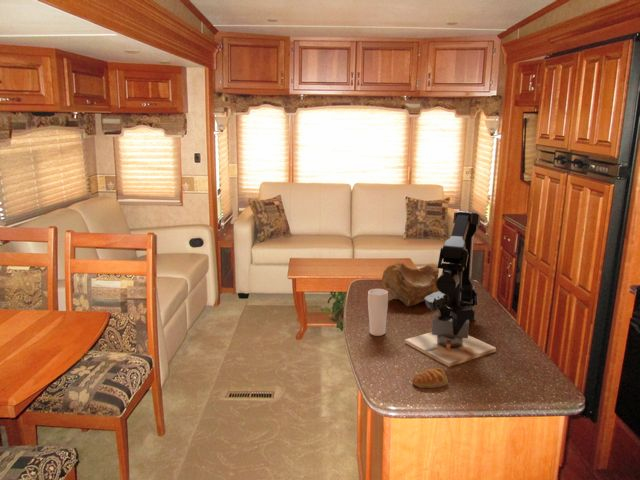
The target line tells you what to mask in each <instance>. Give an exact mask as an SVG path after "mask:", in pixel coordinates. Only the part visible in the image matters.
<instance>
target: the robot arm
mask: <svg viewBox="0 0 640 480" xmlns="http://www.w3.org/2000/svg"><path fill="white" fill-rule="evenodd" d="M452 219H453V220H452V221H453V222H452V224H453V228H452V232H451V235H450V237H449V238H448V239H446V240H445V241H444V243H443V246H442V247H440V251H439V256H438V261H437V266H438V268H439V270H441V269H442V271H441V274H440V276H438V280H437V282H436V285H437V288H438V292H435V293H431V294H430V295H428V296H426V297H425V298H424V299H425V301H424V302H425V306H426V308H428V309H430V310H431V311H432V312H435V311H438V314H439V316H446V317H450V318H451V319H452V321H453V334H454V335H457V334H458V333H459V331H460V329H461V328H462V326H463V325H464V323H465V322H466V320H468V319H469V322H471V321H475V320H476V312H475V310H474V309H473V308H474V307H475V306H478V301H479V300H478V299H479V298H478V293H477V290H476V289H475V281H474V280H473V278H472V277H471V274H472V273H471V271H472V255H473V241H474V238H473V237H474V235H475V234H476V233H477V231H478V230H479V227H480V225H481V220H482V219H481V215H480V214H478V212H475V211H469V210H458V211H456V212H454V213H453V218H452Z"/></svg>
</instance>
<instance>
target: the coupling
mask: <svg viewBox="0 0 640 480" xmlns="http://www.w3.org/2000/svg"><path fill="white" fill-rule="evenodd" d="M431 323H432V325H431V326H432V327H431V332H432V335H437V343H438V344H439V345H440V346H443V347H446V350H449V351H450V348H458V347H461V346H462V345H463V338H468V335H469V329H470V328H469V326H470V321H469V319H468V320H466V322H465V323H464V325H463V326H462V328H461V329H460V331H459V333H458V334H457V335H454V334H453V321H452V319H451V318H450V317H446V316H440V315H437V314H436V315H435V314H434V315H433V317H432V322H431Z"/></svg>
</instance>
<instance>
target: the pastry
mask: <svg viewBox="0 0 640 480" xmlns="http://www.w3.org/2000/svg"><path fill="white" fill-rule="evenodd" d="M448 383H449V381H448V377H447V375H446V371H444V370H443V368H441V367H440V368H439V367H436V368H429V369H427V368H426V369H424V370H423V371H421V372H420V373H418V374H416V375H415V376H413V378H412V384H413V385H414V386H415V387H417V388H420V389H423V388H424V389H434V388H439V387H444V386H446V385H448Z"/></svg>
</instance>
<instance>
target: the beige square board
mask: <svg viewBox="0 0 640 480" xmlns="http://www.w3.org/2000/svg"><path fill="white" fill-rule="evenodd" d="M404 344H406V345H408V346H409V347H412V348H414V349H416V350H417V351H419V352H421V353H423V354H425V355H426V356H428V357H430V358H431V359H434V360H435V361H437V362H439V363H441V364H443V365H445V366H446V367H447V368H450V367H453V366H456V365H459V364H462V363H466V362H468V361H471V360H474V359H477V358H480V357H483V356H486V355H490V354H492V353H495V352H496V351H497V348H496V347H495V346H493V345H491V344H489V343H487V342H484V341H482V340H480V339H478V338H475V337H474V336H472V335H469V334H468V338H463V345H462V346H461V347H458V348H450V351H449V350H446V347H443V346H440V345H439V344H438V343H437V335H432V331H430V332H427V333H423V334H420V335H417V336H412V337H408V338H406V339H404Z"/></svg>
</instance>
